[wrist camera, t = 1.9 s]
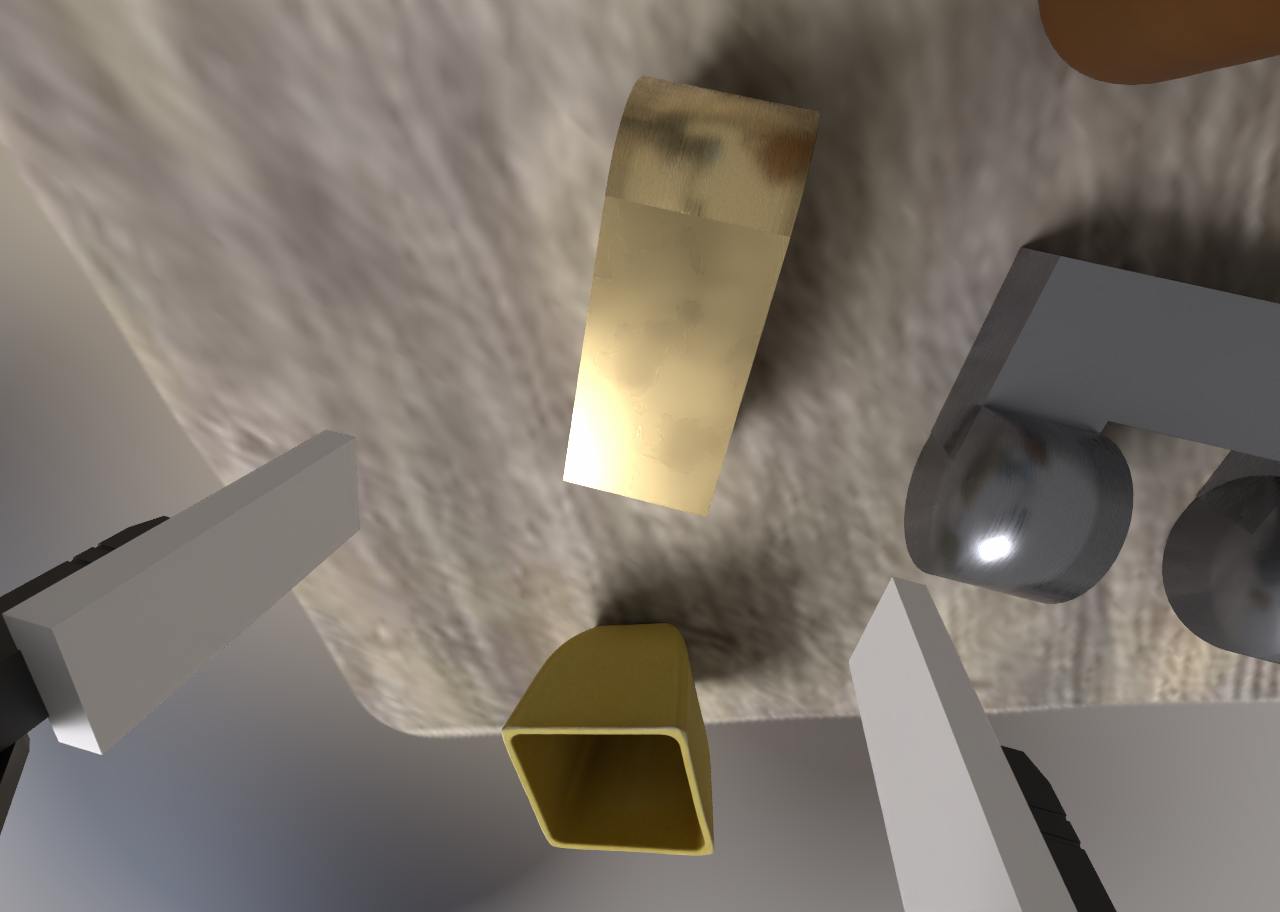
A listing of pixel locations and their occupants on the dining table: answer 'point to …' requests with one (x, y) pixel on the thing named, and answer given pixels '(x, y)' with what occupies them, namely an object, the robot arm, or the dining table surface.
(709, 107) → the brass curved block
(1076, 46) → the mug
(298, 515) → the robot arm
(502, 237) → the dining table surface
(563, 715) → the flower pot
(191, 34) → the dining table surface
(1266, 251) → the dining table surface
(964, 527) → the hinge base leaf
